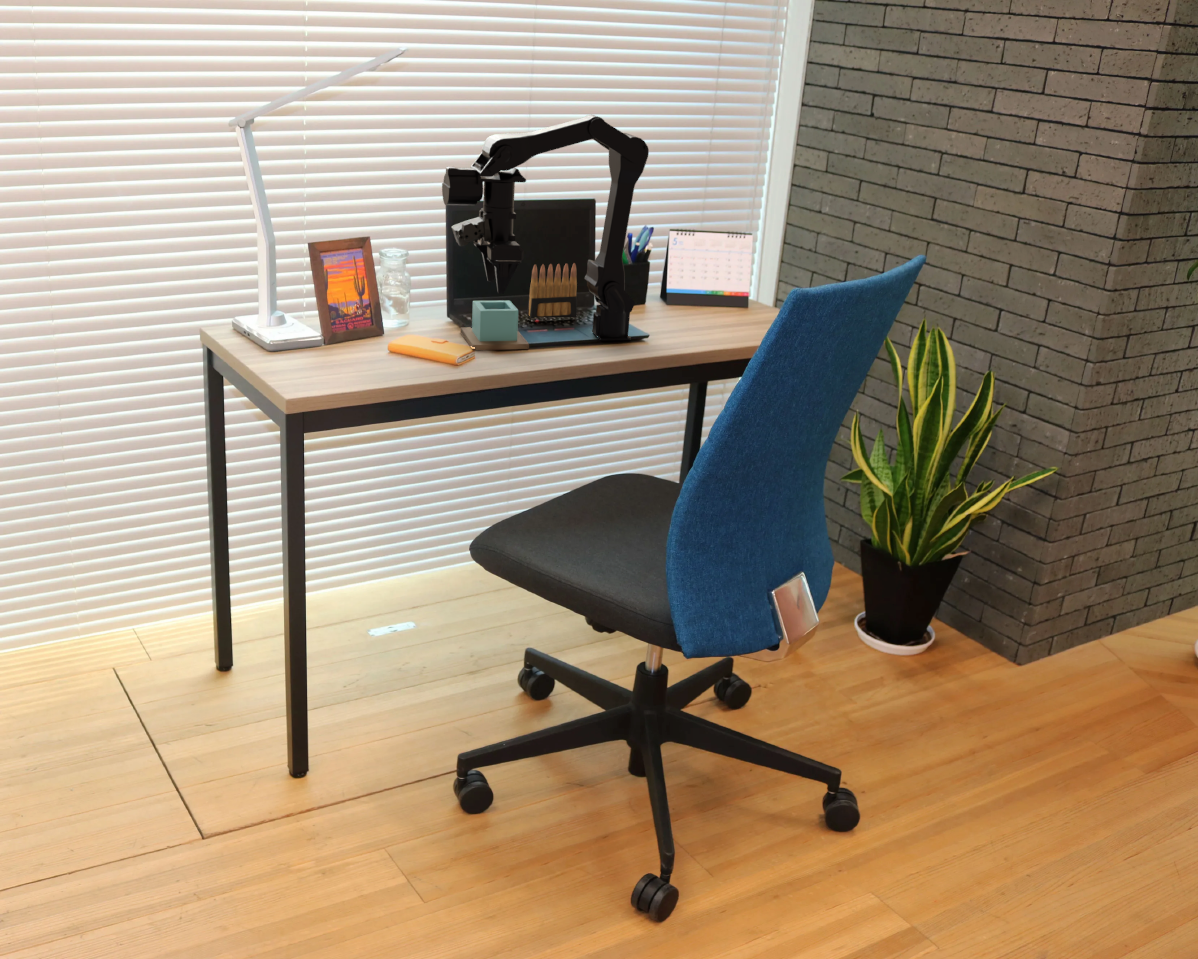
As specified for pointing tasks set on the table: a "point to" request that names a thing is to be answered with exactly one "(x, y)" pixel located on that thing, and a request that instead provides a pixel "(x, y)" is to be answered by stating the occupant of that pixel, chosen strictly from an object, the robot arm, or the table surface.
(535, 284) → the ammunition clip
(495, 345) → the post base
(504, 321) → the collar
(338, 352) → the table surface
